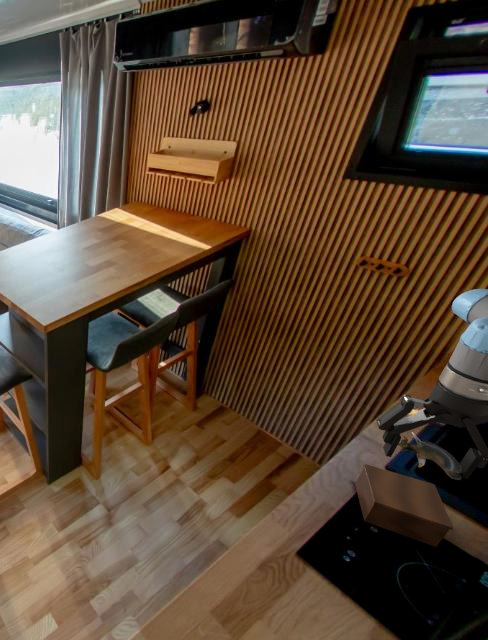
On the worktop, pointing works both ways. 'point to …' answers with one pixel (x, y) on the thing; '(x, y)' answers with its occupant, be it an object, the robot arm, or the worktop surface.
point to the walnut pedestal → (402, 505)
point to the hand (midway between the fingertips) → (423, 462)
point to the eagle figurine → (433, 456)
